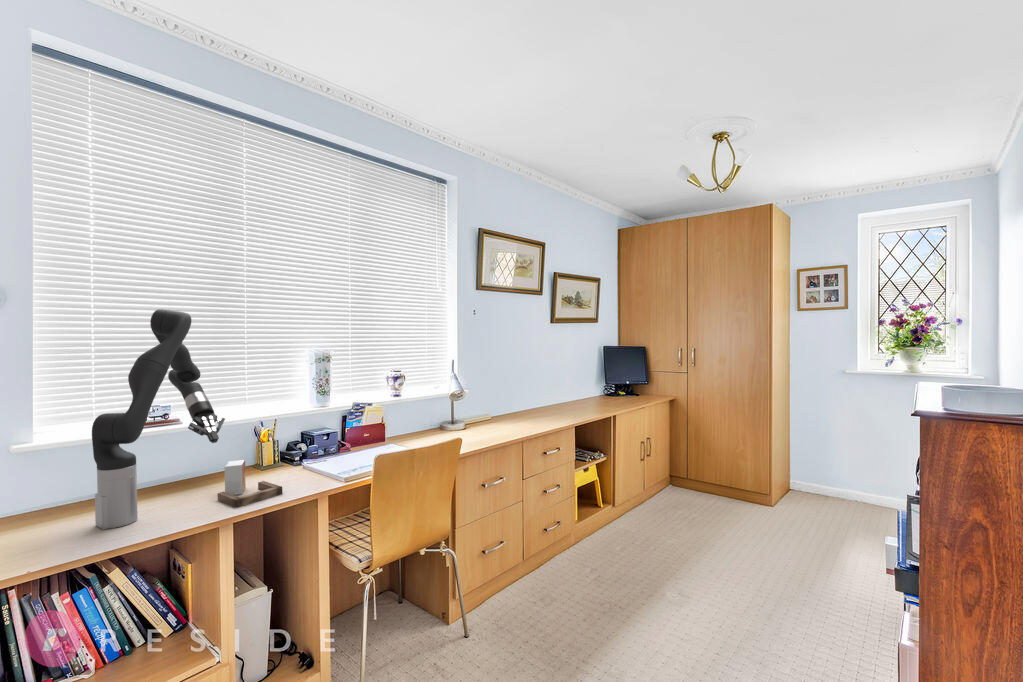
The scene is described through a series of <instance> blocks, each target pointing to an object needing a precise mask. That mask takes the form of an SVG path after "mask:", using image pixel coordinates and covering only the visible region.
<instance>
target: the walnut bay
mask: <svg viewBox="0 0 1023 682" xmlns="http://www.w3.org/2000/svg"><path fill="white" fill-rule="evenodd" d="M257 490H259V491H256V492H252V493H249V494H246V495H242V496H241V495H240V496H237V495H232V494H229V493H226V492H225V491H221V492H217V501H219V502H220V503H223V504H226V505H229V506H231V507H233V508H236V507H237V508H239V507H243V506H246V505H249V504H250V505H251V504H253V503H256V502H260V501H263V500H266V499H269V498H272V497H277V496H279V495H282V494H283V486H282V485H281V486H280V485H278V484H275V483H271V482H269V481H266V480H262V481H258V482H257Z"/></svg>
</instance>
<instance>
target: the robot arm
mask: <svg viewBox="0 0 1023 682" xmlns="http://www.w3.org/2000/svg"><path fill="white" fill-rule="evenodd" d="M149 324H150V330H151V331H152V333H153V334H154V336H155V338H156V340H157V341H158V343H159V344H157V345H155V346H154V347H151V348H150V349H148V350H146V351H145V352H144V353H142V354H141V355H140V356H138V357H137V358H136V360H135V361H134V363H133V366H132V367H131V369H130V371H129V373H128V376H127V379H128V380H127V381H128V385H129V389H130V391H131V395H132V399H131V403H130V406H129V407H128V409H127V411H126V412H109V413H108V412H107V413H102V414H100V415H98V416H97V417H95V419H94V420H93V423H92V427H91V443H92V451H93V452H92V453H93V460H94V462H95V464H96V485H97V486H96V487H97V489H96V490H97V493H95V494H94V508H95V509H94V512H95V513H94V514H95V526H96V527H98V528H100V529H101V531H102V530H106V529H113V528H115V529H116V528H120V527H125V526H127V525H130V524H132V523H135V522H137V520H138V512H139V511H138V484H137V483H138V482H137V481H138V480H137V456H136V454H134V453H133V452H130V451H127V450H125V449H123V448H122V447H121V446H120V445H124V444H125V445H127V444H128V445H129V444H132V443H134V442H135V441H137V440H138V439H139V438H140V436H141V434H142V432H143V429H144V427H145V424H146V421H147V419H148V416H149V414H150V410H151V407H152V404H153V402H154V400H155V398H156V395H157V393H158V392H159V389H160V388H161V385H162V383H163V381H164V380H165V377H166V375H167V377H168V380H169V382H170V383H171V384H172V385H173V386H174V387H175V388H176V389H177V390H178V391H179V392H180V394H181V396H182V398H183V400H184V403H185V406H186V409H187V410H188V414H189V415H190V419H192V422H190V423H189V425H188V427H187V428H188V430H190V431H192V432H194V433H196V434H198V435H199V436H206V437H207V439H208V441H209V442H210V443H212V444H214V443H215V444H216V443H218V440H219V439H220V438H219V435H218V433H219V432H220V430H221V428H222V426H223V424H224V422H225V421H226V418H225V417H222V418H219V417H218V415H216V413H215V410H214V408H213V406H212V404H211V402H210V400H209V397H208V396H207V395H206V393H205V391H204V389H203V386H202V384H200V382H196V381H198V380H199V379H200V377H201V371H200V369H199V368H198V366H197V365H196V364H195V363H194V362H193V360H192V357H191V353H190V351H189V348H188V347H187V346H186V345H185V344H184V343H183V342H184V340H185V339H186V337H187V335H188V333H189V331H190V328H191V325H192V316H191V314H189V313H188V312H185V311H179V310H171V309H166V308H165V309H164V308H161V309H160V308H158V309H156V310H155V311H153V313H152V314H151V316H150V323H149ZM170 368H171V370H169V369H170ZM167 373H168V374H167ZM216 424H217V427H216Z"/></svg>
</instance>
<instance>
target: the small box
mask: <svg viewBox="0 0 1023 682" xmlns="http://www.w3.org/2000/svg"><path fill="white" fill-rule="evenodd" d="M245 490H246V459H239V460H238V459H237V460H229V461H227V463H226V465H224V492H226V493H229V494H232V495H234V496H237V495H243V494H244V492H245Z"/></svg>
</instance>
